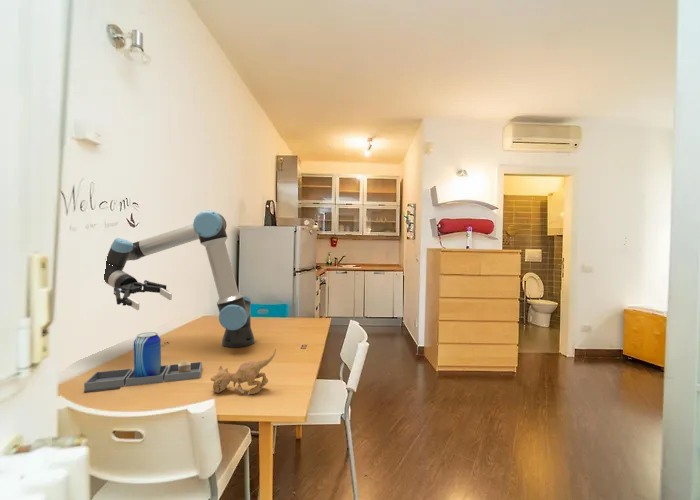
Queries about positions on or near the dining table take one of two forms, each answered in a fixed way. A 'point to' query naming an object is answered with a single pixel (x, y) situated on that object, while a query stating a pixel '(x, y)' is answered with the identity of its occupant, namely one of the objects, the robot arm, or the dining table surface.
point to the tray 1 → (107, 380)
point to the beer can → (147, 355)
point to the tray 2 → (175, 376)
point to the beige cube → (184, 367)
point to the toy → (242, 376)
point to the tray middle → (146, 378)
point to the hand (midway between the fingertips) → (155, 301)
